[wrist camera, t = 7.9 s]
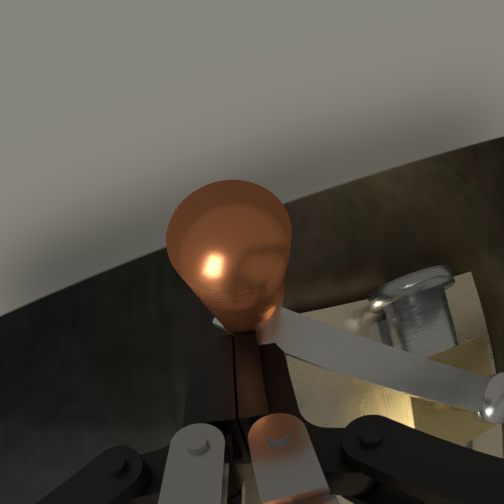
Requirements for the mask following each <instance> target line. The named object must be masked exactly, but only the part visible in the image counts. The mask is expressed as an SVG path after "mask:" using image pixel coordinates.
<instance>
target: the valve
mask: <svg viewBox="0 0 504 504" xmlns="http://www.w3.org/2000/svg"><path fill="white" fill-rule="evenodd" d="M367 297H368V299H366V300H362V301H357V302H353V303H348V304H344V305H339V306H334V307H330V308H325V309H320V310H315V311H310V312H305V313H300V314H301V315H304V316H307V317H309V318H312V319H315V320H318V321H320V322H323V323H326V324H328V325H331V326H334V327H337V328H339V329H342V330H345V331H348V332H351V333H353V334H356V335H359V336H362V337H365V338H368V339H371V340H373V341H376V342H379V343H382V344H385V345H388V346H391V347H394V348H397V349H400V350H403V351H406V352H409V353H412V354H415V355H418V356H421V357H424V358H427V359H430V360H434V361H437V362H440V363H443V364H446V365H449V366H453V367H456V368H459V369H462V370H466V371H469V372H472V373H476V374H479V375H483V376H485V375H489V374H496V370H495V364H494V359H493V353H492V348H491V343H490V339H489V334H488V330H487V326H486V322H485V318H484V314H483V310H482V306H481V303H480V299H479V296H478V293H477V289H476V286H475V283H474V280H473V277H472V274H471V272H468V273H464V274H461V275H458V276H453V273H452V270H451V267H450V266H449V265H438V266H433V267H429V268H425V269H422V270H418V271H415V272H412V273H410V274H407V275H404V276H402V277H399V278H397V279H394V280H392V281H390V282H388V283H386V284H384V285H382V286H380V287H378V288H376V289H375V290H373V291H372V292H371V293H369V295H368V296H367ZM285 358H286V362H287V366H288V370H289V374H290V377H291V381H292V385H293V389H294V393H295V396H296V400H297V404H298V408H299V411H300V413H301V415H302V416H303V418H304V419H305V420H307V421H308V422H309V423H311V424H313V425H316V426H320V427H326V428H346V426H347V425H348V424H349V423H350V422H351V421H353V420H354V419H356V418H358V417H361V416H365V415H381V416H385V417H387V418H390V419H392V420H394V421H397V422H399V423H402V424H404V425H407V426H409V427H412V428H414V429H417V430H419V431H422V432H425V433H427V434H430V435H433V436H435V437H438V438H441V439H444V440H446V441H449V442H452V443H455V444H458V445H461V446H464V447H467V448H470V449H473V450H476V451H479V452H483V453H486V454H489V455H493V456H496V457H500V458H503V442H502V423H501V424H493V423H480V422H477V421H476V420H474V419H473V417H472V415H471V413H470V411H468V410H464V409H459V408H455V407H451V406H447V405H442V404H438V403H434V402H430V401H427V400H423V399H419V398H415V397H412V396H408V395H404V394H401V393H397V392H394V391H391V390H387V389H384V388H381V387H377V386H374V385H371V384H368V383H364V382H361V381H358V380H355V379H352V378H349V377H346V376H343V375H340V374H337V373H334V372H331V371H328V370H325V369H323V368H320V367H317V366H314V365H311V364H309V363H306V362H303V361H300V360H298V359H295V358H292V357H290V356H287V355H285ZM336 497H337V498H338V500H339V502H340V504H354V503H352V502H350V501H348V500H346V499H344V498H343V497H342V496H341V495H336Z"/></svg>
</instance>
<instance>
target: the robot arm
mask: <svg viewBox="0 0 504 504" xmlns="http://www.w3.org/2000/svg"><path fill="white" fill-rule="evenodd" d="M187 388H188V390H187V395H186V404H185V413H184V422H183V428H182V429H181V430H179V431H178V432H177V433H176V434H175V435H174V437H173V438H172V440H171V443H170V445H169V446H167V447H165V448H162V449H159V450H156V451H152V452H149V453H145V454H142V455H139V453H138V452H137V451H136V450H134V449H133V448H130V447H127V446H114V447H111V448H109V449H107V450H105V451H104V452H102V453H101V454H100V455H99V456H97V457H96V458H95V459H94V460H92V461H91V462H90V463H89V464H87V465H86V466H85V467H83V468H82V469H81V470H80V471H78V472H77V473H76V474H74V475H73V476H72V477H71V478H69V479H68V480H67V481H65V482H64V483H63V484H61V485H60V486H59V487H57V488H56V489H55V490H53V491H52V492H51V493H49V494H48V495H46V496H45V497H44V498H42V499H41V500H40V501H38V502H37V503H35V504H245V482H244V469H243V464H247V463H252V462H253V467H254V472H255V477H256V481H257V486H258V491H259V495H260V500H261V504H340V502H339V500H338V498H337V497H336V495H341V496H342V497H343V498H344V499H346V500H348V501H350V502H352V503H354V504H504V459H503V458H500V457H496V456H493V455H489V454H486V453H483V452H479V451H476V450H473V449H470V448H467V447H464V446H461V445H458V444H455V443H452V442H449V441H446V440H444V439H441V438H438V437H435V436H433V435H430V434H427V433H425V432H422V431H419V430H417V429H414V428H412V427H409V426H407V425H404V424H402V423H399V422H397V421H394V420H392V419H390V418H387V417H385V416H381V415H365V416H361V417H358V418H356V419H354V420H353V421H351V422H350V423H349V424H348V425H347V426H346V428H326V427H320V426H316V425H313V424H311V423H309V422H308V421H307V420H305V419H304V418H303V416H302V415H301V413H300V411H299V408H298V404H297V400H296V396H295V393H294V389H293V385H292V381H291V377H290V374H289V370H288V366H287V362H286V358H285V355H284V351H283V350H282V349H281V348H280V347H279V346H278V345H277V344H276V343H270V344H264V345H259V343H258V338H257V333H256V331H251V332H244V333H238V334H234V336H233V335H227V336H220V337H214V338H211V339H210V353H208V354H201V355H197V356H196V358H195V359H194V361H193V362H192V364H191V365H190V370H189V380H188V387H187ZM251 457H252V460H251Z"/></svg>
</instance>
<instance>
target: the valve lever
mask: <svg viewBox="0 0 504 504" xmlns="http://www.w3.org/2000/svg"><path fill="white" fill-rule="evenodd" d="M291 235H292V229H291V222H290V219H289V215H288V213H287V211H286V209H285V207H284V206H283V204H282V203H281V202H280V200H279V199H278V198H277V197H276V196H275V195H274V194H273V193H271V192H269V191H268V190H267V189H265V188H263V187H261V186H259V185H257V184H254V183H251V182H247V181H240V180H226V181H219V182H215V183H211V184H208V185H206V186H204V187H201V188H200V189H198V190H196V191H195V192H193V193H192V194H190V195H189V196H188V197H187V198H186V199H185V200H183V201H182V203H181V204H180V205H179V206H178V208H177V209H176V210H175V212H174V214H173V216H172V217H171V220H170V223H169V225H168V229H167V236H166V245H167V251H168V255H169V258H170V261H171V263H172V264H173V266H174V268H175V269H176V271H177V272H178V273H179V274H180V276H181V277H182V278H183V279H184V281H185V282H186V283H187V284H188V285H189V287H190V288H191V289H192V290H193V291H194V293H195V294H196V295H197V296H198V297H199V299H200V300H201V301H202V302H203V303H204V305H205V306H206V307H207V308H208V309H209V310H210V312H211V313H212V314H213V315H214V316H215V318H214V320H213V322H212V323H213V324H214V325H215V326H216V327H219V328H221V329H223V330H226V331H228V332H229V333H230V334H231V335H233V336H234V334H238V333H244V332H251V331H256V333H257V338H258V343H259V345H264V344H270V343H276V344H277V345H278V346H279V347H280V348H281V349H282V350H283V351H284V354H285V355H287V356H290V357H292V358H295V359H298V360H300V361H303V362H306V363H309V364H311V365H314V366H317V367H320V368H323V369H325V370H328V371H331V372H334V373H337V374H340V375H343V376H346V377H349V378H352V379H355V380H358V381H361V382H364V383H368V384H371V385H374V386H377V387H381V388H384V389H387V390H391V391H394V392H397V393H401V394H404V395H408V396H412V397H415V398H419V399H423V400H427V401H430V402H434V403H438V404H442V405H447V406H451V407H455V408H459V409H464V410H468V411H470V413H471V415H472V417H473V419H474V420H476V421H477V422H480V423H493V424H501V423H504V372H502V373H496V374H489V375H485V376H483V375H479V374H476V373H472V372H469V371H466V370H462V369H459V368H456V367H453V366H449V365H446V364H443V363H440V362H437V361H434V360H430V359H427V358H424V357H421V356H418V355H415V354H412V353H409V352H406V351H403V350H400V349H397V348H394V347H391V346H388V345H385V344H382V343H379V342H376V341H373V340H371V339H368V338H365V337H362V336H359V335H356V334H353V333H351V332H348V331H345V330H342V329H339V328H337V327H334V326H331V325H328V324H326V323H323V322H320V321H318V320H315V319H312V318H309V317H307V316H304V315H301V314H299V313H296V312H294V311H291V310H288V309H286V308H283V307H282V303H283V296H284V289H285V282H286V275H287V268H288V260H289V253H290V245H291Z"/></svg>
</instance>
